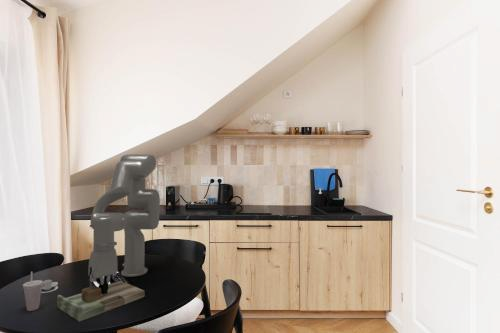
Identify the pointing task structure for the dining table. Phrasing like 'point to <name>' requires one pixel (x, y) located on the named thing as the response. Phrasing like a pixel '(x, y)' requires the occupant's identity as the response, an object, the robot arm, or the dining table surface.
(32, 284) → the smoothie
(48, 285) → the teacup and saucer
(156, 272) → the dining table surface
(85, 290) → the walnut block
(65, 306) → the board
